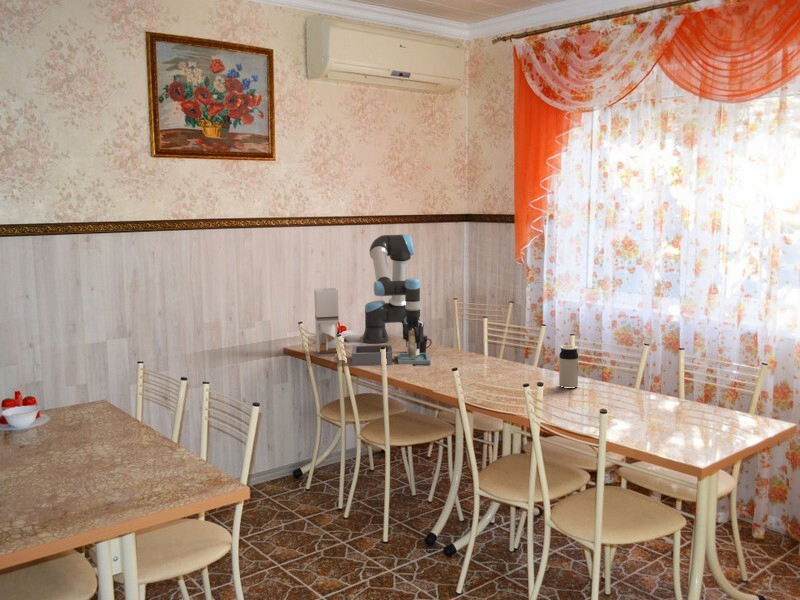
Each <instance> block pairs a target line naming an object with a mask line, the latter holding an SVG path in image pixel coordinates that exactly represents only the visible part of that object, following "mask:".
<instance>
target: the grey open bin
mask: <svg viewBox="0 0 800 600" xmlns="http://www.w3.org/2000/svg"><path fill="white" fill-rule="evenodd" d="M381 346H385V347H386V359H387V365H386V366H393V349H392V348H393V347H392V344H377V345H376V344H373V345H372V344H367V345H365V344H364V345H352V351H351V365H352V367H353V366H354V367H357V366H358V367H359V366H382V365H381V352H380V347H381Z"/></svg>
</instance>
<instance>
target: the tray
mask: <svg viewBox="0 0 800 600" xmlns="http://www.w3.org/2000/svg"><path fill="white" fill-rule="evenodd" d="M396 355H397V356H396V359H397V364H398V365H412V366H413V367H414V366H415V365H423V366H431V359H430V356H429V353H428V352H426V353H419V355H418V358H414V359H412V358H409V354H407V352H405V353H397V354H396ZM415 367H416V366H415Z"/></svg>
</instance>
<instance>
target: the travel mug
mask: <svg viewBox="0 0 800 600" xmlns="http://www.w3.org/2000/svg"><path fill="white" fill-rule="evenodd" d="M578 348H579V347H578V346H576V345H572V344H571V345H570V344H568V345H567V344H566V345H565V344H564V345H560V353H559V364H558V365H559V369H558V370H559V371H558V373H559V374H558V375H559V376H558V380H559V382H558V386H559V385H560V386H563V387H577V386H578V387H579V382H578V381H579V353H578ZM560 386H559V387H560ZM578 387H577V388H578Z"/></svg>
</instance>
